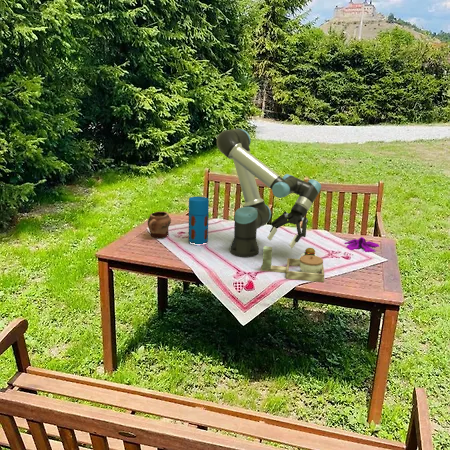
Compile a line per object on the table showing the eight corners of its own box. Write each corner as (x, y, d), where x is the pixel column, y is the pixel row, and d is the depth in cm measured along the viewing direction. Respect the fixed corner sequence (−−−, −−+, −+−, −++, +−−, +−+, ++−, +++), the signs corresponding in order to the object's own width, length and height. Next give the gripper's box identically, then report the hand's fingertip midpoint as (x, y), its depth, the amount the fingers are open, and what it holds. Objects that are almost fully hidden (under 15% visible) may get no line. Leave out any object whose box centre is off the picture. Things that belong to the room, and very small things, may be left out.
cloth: (380, 244, 250) (381, 234, 248) (379, 255, 233) (381, 244, 231) (340, 239, 257) (341, 229, 255) (337, 249, 240) (338, 238, 238)
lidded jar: (295, 270, 209) (296, 252, 206) (315, 269, 211) (317, 251, 208) (304, 280, 199) (305, 261, 196) (325, 278, 201) (327, 259, 198)
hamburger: (293, 258, 226) (293, 248, 224) (305, 252, 235) (306, 242, 233) (313, 264, 219) (314, 254, 217) (325, 258, 227) (326, 248, 226)
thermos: (200, 247, 236) (201, 202, 228) (184, 243, 241) (184, 199, 234) (211, 241, 245) (212, 198, 237) (196, 237, 250) (196, 195, 242)
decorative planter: (161, 244, 239) (160, 219, 234) (141, 241, 242) (140, 217, 238) (175, 233, 257) (175, 210, 253) (156, 230, 260) (155, 208, 256)
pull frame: (259, 276, 201) (261, 253, 198) (262, 262, 217) (264, 241, 214) (323, 282, 197) (326, 259, 193) (322, 267, 213) (324, 246, 209)
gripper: (325, 217, 210) (303, 254, 204) (284, 206, 226) (263, 239, 221) (319, 209, 204) (297, 246, 199) (278, 198, 221) (257, 232, 216)
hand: (279, 243), depth 210 cm, fingers open, 13 cm apart
